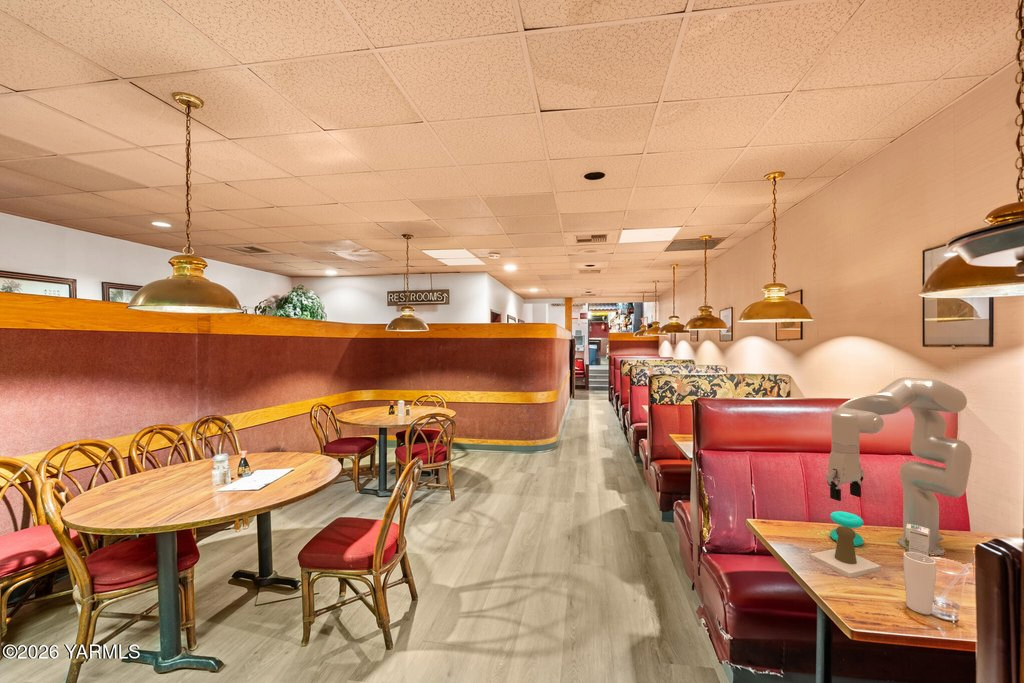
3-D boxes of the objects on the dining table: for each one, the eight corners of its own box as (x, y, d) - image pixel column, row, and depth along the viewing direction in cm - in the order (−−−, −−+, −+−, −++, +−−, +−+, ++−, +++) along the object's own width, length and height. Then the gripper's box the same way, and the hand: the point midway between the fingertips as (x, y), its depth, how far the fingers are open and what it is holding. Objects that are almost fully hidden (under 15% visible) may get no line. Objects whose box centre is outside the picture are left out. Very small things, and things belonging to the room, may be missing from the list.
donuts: (854, 511, 165) (869, 522, 155) (854, 536, 165) (869, 549, 155) (825, 508, 167) (838, 519, 157) (825, 534, 167) (838, 545, 157)
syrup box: (905, 564, 144) (905, 522, 144) (929, 571, 140) (929, 528, 140) (904, 570, 140) (904, 527, 140) (929, 578, 136) (929, 533, 136)
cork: (861, 565, 141) (861, 532, 141) (840, 563, 142) (841, 530, 142) (850, 556, 147) (850, 524, 147) (830, 554, 148) (830, 523, 148)
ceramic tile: (840, 551, 153) (840, 547, 153) (880, 570, 140) (880, 565, 140) (810, 558, 148) (810, 553, 148) (849, 578, 136) (849, 573, 136)
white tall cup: (896, 602, 123) (896, 551, 123) (917, 601, 123) (917, 551, 123) (920, 618, 116) (921, 564, 116) (943, 616, 117) (943, 563, 117)
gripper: (851, 443, 150) (851, 490, 150) (816, 447, 145) (816, 497, 145) (874, 448, 143) (875, 498, 143) (839, 453, 138) (839, 505, 138)
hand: (845, 497), depth 144 cm, fingers open, 9 cm apart
